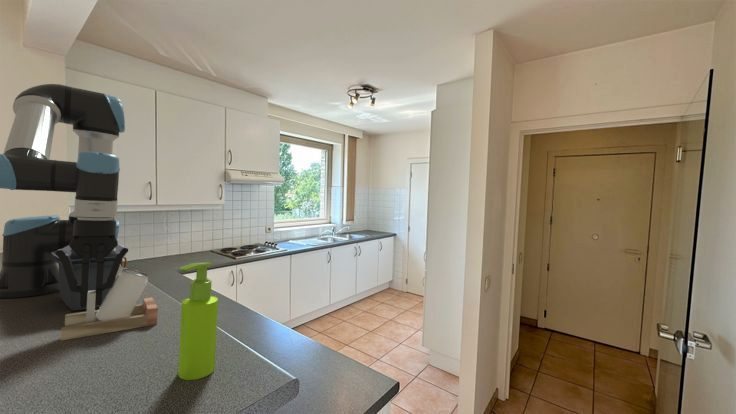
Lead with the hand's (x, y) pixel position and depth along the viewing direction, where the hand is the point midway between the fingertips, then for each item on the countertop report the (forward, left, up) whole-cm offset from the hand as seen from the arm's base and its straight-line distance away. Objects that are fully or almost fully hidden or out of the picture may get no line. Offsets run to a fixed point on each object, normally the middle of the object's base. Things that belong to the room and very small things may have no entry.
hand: (90, 319), depth 73 cm
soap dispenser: (+34, +15, -2) cm, 37 cm away
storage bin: (-24, 0, -2) cm, 24 cm away
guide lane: (0, +4, -2) cm, 4 cm away
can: (0, +4, -1) cm, 4 cm away
